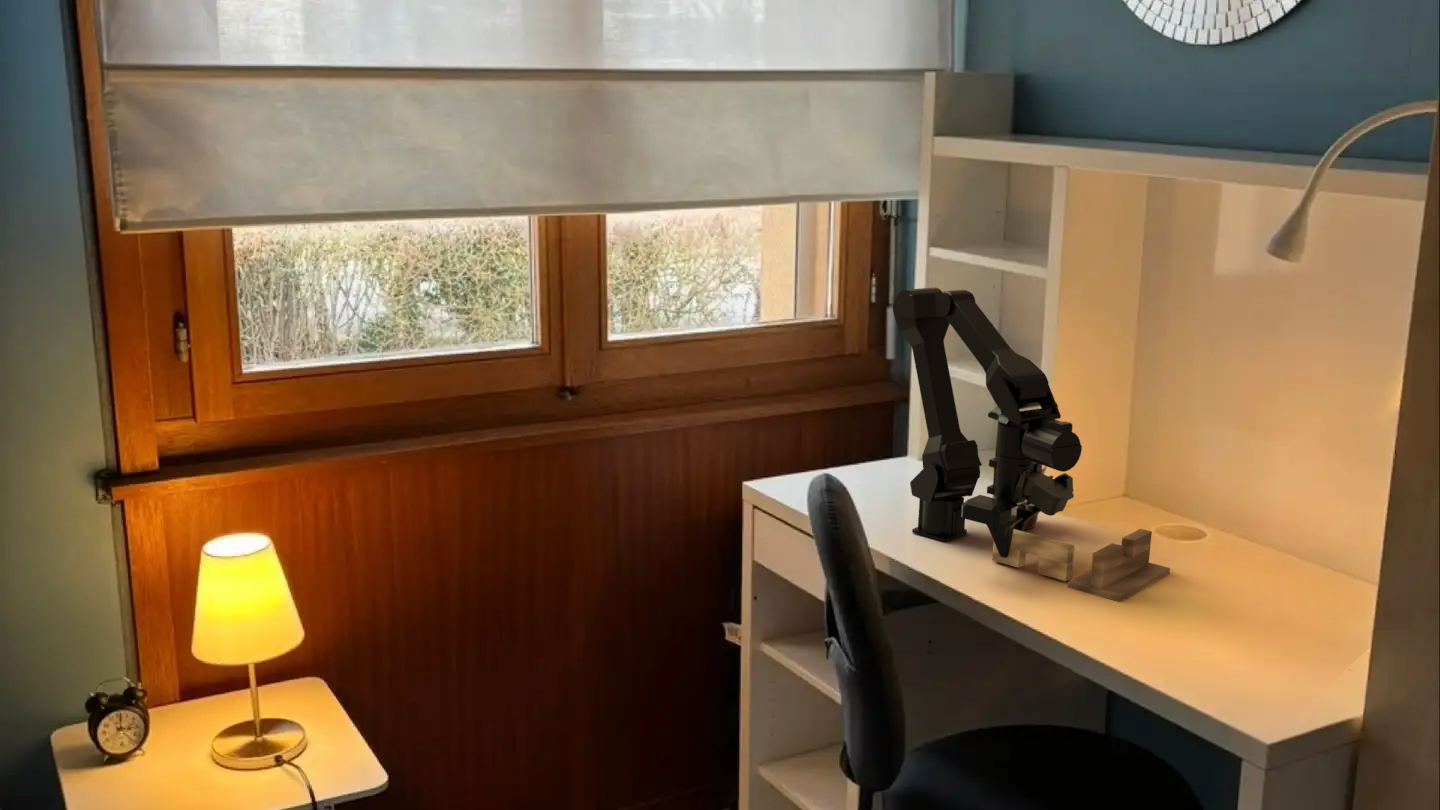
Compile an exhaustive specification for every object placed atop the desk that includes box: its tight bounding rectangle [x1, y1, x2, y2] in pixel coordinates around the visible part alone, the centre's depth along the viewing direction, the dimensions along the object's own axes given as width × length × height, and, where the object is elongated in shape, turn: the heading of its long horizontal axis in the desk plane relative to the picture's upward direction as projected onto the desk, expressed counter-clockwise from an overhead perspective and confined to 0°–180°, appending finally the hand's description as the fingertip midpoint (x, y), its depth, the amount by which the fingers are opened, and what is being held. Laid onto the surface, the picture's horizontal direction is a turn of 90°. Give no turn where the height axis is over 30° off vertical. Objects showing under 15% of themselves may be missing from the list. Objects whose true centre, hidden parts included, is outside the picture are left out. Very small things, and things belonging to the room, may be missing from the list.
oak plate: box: [991, 529, 1075, 582], centre depth 202 cm, size 12×2×5 cm, turn 48°
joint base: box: [1067, 528, 1171, 603], centre depth 199 cm, size 8×16×6 cm, turn 138°
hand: (1007, 555), depth 205 cm, fingers closed on oak plate, 2 cm apart
